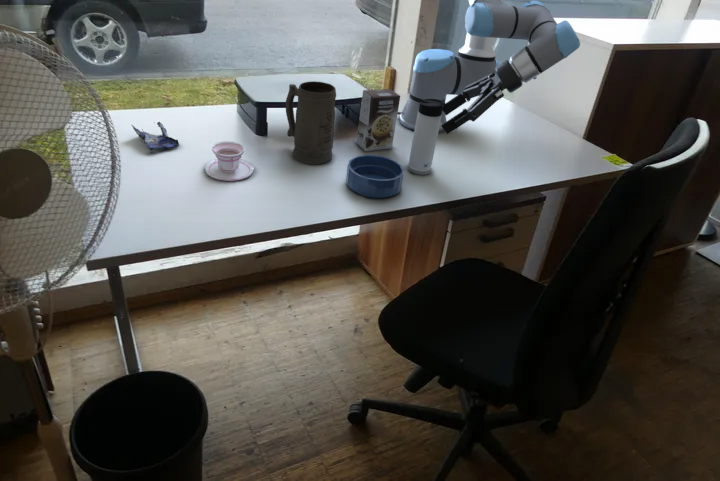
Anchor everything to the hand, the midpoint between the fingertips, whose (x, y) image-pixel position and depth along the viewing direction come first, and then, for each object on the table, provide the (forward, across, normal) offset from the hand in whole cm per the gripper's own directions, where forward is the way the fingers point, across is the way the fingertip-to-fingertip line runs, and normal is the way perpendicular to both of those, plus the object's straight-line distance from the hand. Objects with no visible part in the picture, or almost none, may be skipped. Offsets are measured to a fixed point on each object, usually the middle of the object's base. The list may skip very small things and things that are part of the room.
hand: (443, 120), depth 148 cm
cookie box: (+23, +12, +2) cm, 26 cm away
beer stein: (+36, -1, +14) cm, 39 cm away
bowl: (+22, -14, 0) cm, 26 cm away
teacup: (+48, -17, +26) cm, 57 cm away
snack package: (+64, -9, +42) cm, 77 cm away
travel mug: (+14, 0, -8) cm, 16 cm away
